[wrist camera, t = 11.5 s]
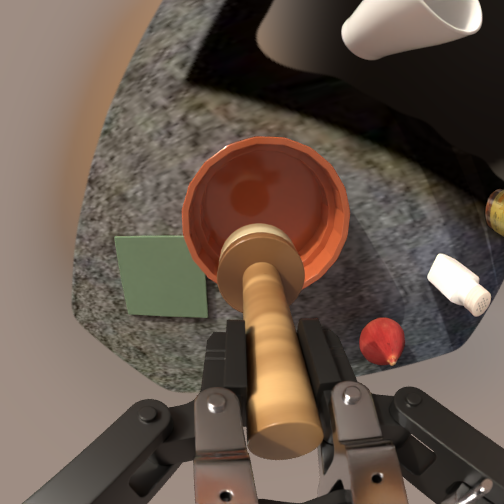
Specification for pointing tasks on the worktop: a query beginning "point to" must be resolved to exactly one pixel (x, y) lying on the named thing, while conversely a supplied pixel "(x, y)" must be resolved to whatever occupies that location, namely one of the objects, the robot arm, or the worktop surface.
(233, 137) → the worktop surface
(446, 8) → the drinking glass
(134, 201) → the worktop surface
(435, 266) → the pepper shaker
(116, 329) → the worktop surface
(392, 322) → the onion
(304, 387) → the dish brush
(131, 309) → the mat
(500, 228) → the sauce bottle
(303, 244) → the bowl
